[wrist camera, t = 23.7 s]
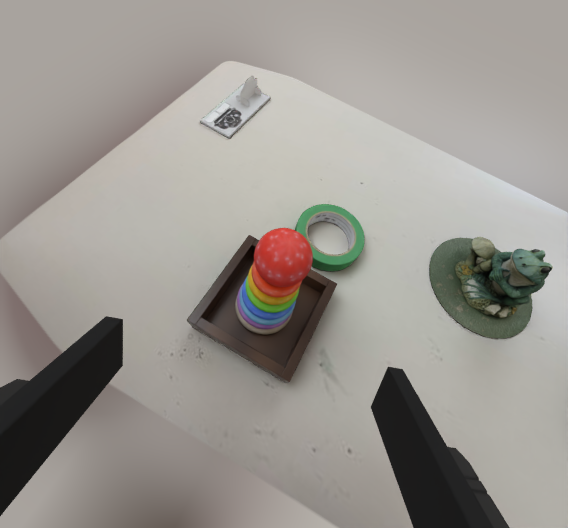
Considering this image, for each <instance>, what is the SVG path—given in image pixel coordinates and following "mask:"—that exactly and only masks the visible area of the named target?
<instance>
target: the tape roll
mask: <svg viewBox="0 0 568 528" xmlns="http://www.w3.org/2000/svg"><path fill="white" fill-rule="evenodd" d="M319 221H327V222H331V223H334V224H336V225H337V226H339V227H340V228H341V229H342V230H343V231H344V232H345V234H346V236H347V238H348V241H349V248H348V251H347V252H345V253H342V254H338V255H331V254H327V253H324V252H322V251H320V250H318V249H317V248H316V247H315V246H314V245H313V244H312V243H311V241H310V240H309V237H308V233H307V232H308V227H309V226H310V225H311V224H313V223H315V222H319ZM295 231H297V232H299V233H300V234H302V235H303V236H304V237H305V238H306V239H307V241H308V242H309V244H310V246H311V249H312V254H313V262H312V266H313V267H315V268H317V269H320V270H324V271H338V270H342V269H344V268H346V267H348V266H349V265H351V264H352V263H353V262H354V260H355V259H356V258H357V257H358V256H359V255H360V253H361V252H362V249H363V247H364V232H363V229H362V227H361V225H360V223H359V222H358V220H357V219H356V218H355V217H354V216H353V215H352V214H350V213H349V212H348V211H346V210H345V209H343V208H341V207H338V206H335V205H329V204H321V205H316V206H313V207H311V208H309V209H307V210H306V211H305V212H304V213H303V214H302V215H301V216H300V218H299V220H298V223H297V225H296V228H295Z"/></svg>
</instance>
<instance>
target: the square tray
mask: <svg viewBox="0 0 568 528" xmlns="http://www.w3.org/2000/svg"><path fill="white" fill-rule="evenodd" d="M258 242H259V240H257V239H256V238H254V237H252V236H250V235H249V236H248V237H247V238H246V240H245V241H244V243H243V244H242V245H241V247H240V248H239V249H238V251H237V252H236V254H235V255H234V256H233V258H232V259H231V260H230V262H229V263H228V264H227V266H226V267H225V269H224V270H223V271H222V273H221V274H220V275H219V277H218V278H217V280H216V281H215V282H214V284H213V285H212V286H211V288H210V289H209V290H208V292H207V293H206V295H205V296H204V297H203V299H202V300H201V301H200V303H199V304H198V306H197V307H196V308H195V310H194V311H193V312H192V314H191V315H190V316H189V318H188V319H187V321H188V322H189V323H190V325H191V326H192V327H194V328H196V329H197V330H199V331H201V332H202V333H204V334H205V335H207V336H209V337H210V338H212V339H214V340H215V341H217V342H219V343H220V344H222V345H224V346H225V347H227V348H229V349H230V350H232V351H234V352H235V353H237V354H239V355H240V356H242V357H244V358H245V359H247V360H248V361H250V362H252V363H253V364H255V365H257V366H258V367H260V368H262V369H263V370H265V371H267V372H268V373H270V374H272V375H273V376H275V377H277V378H278V379H280V380H282V381H283V382H290V380H291V378H292V376H293V374H294V372H295V370H296V368H297V366H298V364H299V362H300V359H301V357H302V355H303V353H304V351H305V349H306V347H307V345H308V343H309V341H310V339H311V337H312V335H313V333H314V331H315V329H316V327H317V325H318V322H319V320H320V318H321V316H322V314H323V312H324V310H325V308H326V306H327V304H328V302H329V300H330V298H331V296H332V294H333V292H334V290H335V288H336V286H337V283H335V282H333V281H331V280H329V279H327V278H326V277H324V276H322V275H320V274H319V273H317V272H315V271H313V270H311V269H310V271H309V273H308V274H307V276H306V277H305V278H304V279H303V280H302V283H301V285H300V287H299V293H298V296H297V298H296V303H295V307H294V309H293V313H292V316H291V319H290V321H289V322H288V324H287V325H286V326H285V327H284V328H283V329H281V330H280V331H278V332H276V333H273V334H267V335H263V334H257V333H254V332H252V331H250V330H248V329H247V328H246V327H244V326H243V324H242V323H241V322H240V320H239V318H238V316H237V314H236V308H235V303H236V298H237V295H238V292H239V289H240V287H241V286H242V284H243V283H244V281H245V279H246V277H247V276H248V274H249V270H250V268H251V266H252V265H253V263H254V252H255V248H256V246H257V244H258Z"/></svg>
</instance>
